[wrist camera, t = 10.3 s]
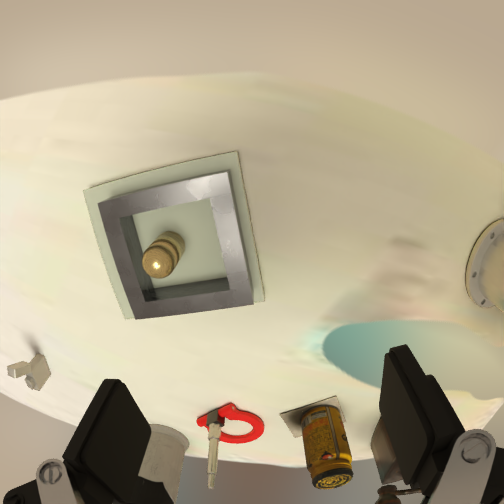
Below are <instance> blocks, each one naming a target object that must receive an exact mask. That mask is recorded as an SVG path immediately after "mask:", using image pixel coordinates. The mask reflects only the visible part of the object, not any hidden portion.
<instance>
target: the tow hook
mask: <svg viewBox="0 0 504 504" xmlns="http://www.w3.org/2000/svg"><path fill="white" fill-rule="evenodd" d="M225 417H226V418H228V419H229V420H241V421H245V422H248V423H249V424H251V425H252V426H253V428H254V429H253V430H252V431H251V432H250V433H248V434H246V435H241V436H232V435H227V434H224V433H223V432H221V427H223V426H224V423H225ZM197 424H198V426H200V427H202V426H205V427H206V428H207V429H208V432H209V435H208V439H209V441H210V442H209V454H208V468H207V475H209V477H208V489H214V481H215V476H216V475H217V459H218V442H219V441H223V442H227V443H237V444H239V443H247V442H251V441H253V440H255V439H257V438H259V437H260V436H261V435H262V434H263V432H264V424H263V421H262V420H261V419H260V418H259V417H257V416H255V415H253V414H251V413H248V412H243V411H239V410H237V409H236V407H235V405H234V404H232V403H231V404H229V405H227V406H225V407H222V408H220V409H217V410H214V411H212V412H210V413H208V414H207V415H205V416H203V417H201V418H198V419H197Z"/></svg>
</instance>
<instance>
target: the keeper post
mask: <svg viewBox="0 0 504 504" xmlns="http://www.w3.org/2000/svg"><path fill="white" fill-rule="evenodd" d="M184 252H185V242H184V240H183V238H182V237H181V236H180V235H179V234H178V233H176V232H173V231H166V232H163V233H161V234H160V235H159V236H158V237H157V238H156V239H155V240H154V241H153V243H152V244H151V245H150V246H149V247H148V248H147V249H146V250H145V252H144V253H143V256H142V266H143V269H144V270H145V272H146V273H147V274H148V275H149V276H151V277H153V278H157V279H161V278H165V277H167V276H169V275H170V274H171V273H172V272H173V271H174V269H175V267H176V266H177V264H178V262H179V261H180V259H181V257H182V255H183V254H184Z"/></svg>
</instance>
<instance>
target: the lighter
mask: <svg viewBox="0 0 504 504" xmlns="http://www.w3.org/2000/svg"><path fill="white" fill-rule="evenodd" d="M7 369H8V376H11V377H13V378H18V377H21V376H23V375H26V376H27V377H26V378H25V381H26V383H27V386H28V387H29V388H31V389H35V390H38V391H40V389H41V388H42V386H43V385H44V384H45V382H46V381H47V379H48V378H49V376H50V375H51V372H50V370H49V367H48V364H47V361H46V359H45V356H44V355H41V354H38V353H37V354H36V356H35V357H34V358H33V359H32V360H31V362H30V363H27V362H24V361H21V362H18V363H15V364H12V365H9V366H7Z"/></svg>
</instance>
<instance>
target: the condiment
mask: <svg viewBox="0 0 504 504" xmlns="http://www.w3.org/2000/svg"><path fill="white" fill-rule="evenodd" d="M280 416H281V417H282V419H283V420H284V422H285V423H286V425H287V426H288V428H289V429H290V431H291V433H292V434H293V436H294V437H295V438H296V437H300V436H303V442H304V449H305V456H306V464H307V469H308V471H309V472H310V473H311V478H312V483H313V485H314V487H316V488H318V489H332V488H337V487H340V486H342V485H345V484H346V483H348V482H349V481H350V480H351V479H352V477H353V472H352V467H351V464H350V463H351V462H352V456H351V452H350V448H349V444H348V441H347V437H346V432H345V429H344V425H343V423H344V422H346V420H345V418H344V415H343V412H342V410H341V407H340V404H339V402H338V399H337V396H335V397H332V398H329V399H326V400H323V401H320V402H317V403H314V404H311V405H308V406H306V407H303V408H299V409H297V410H292V411H290V412H287V413H284V414H280Z"/></svg>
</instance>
